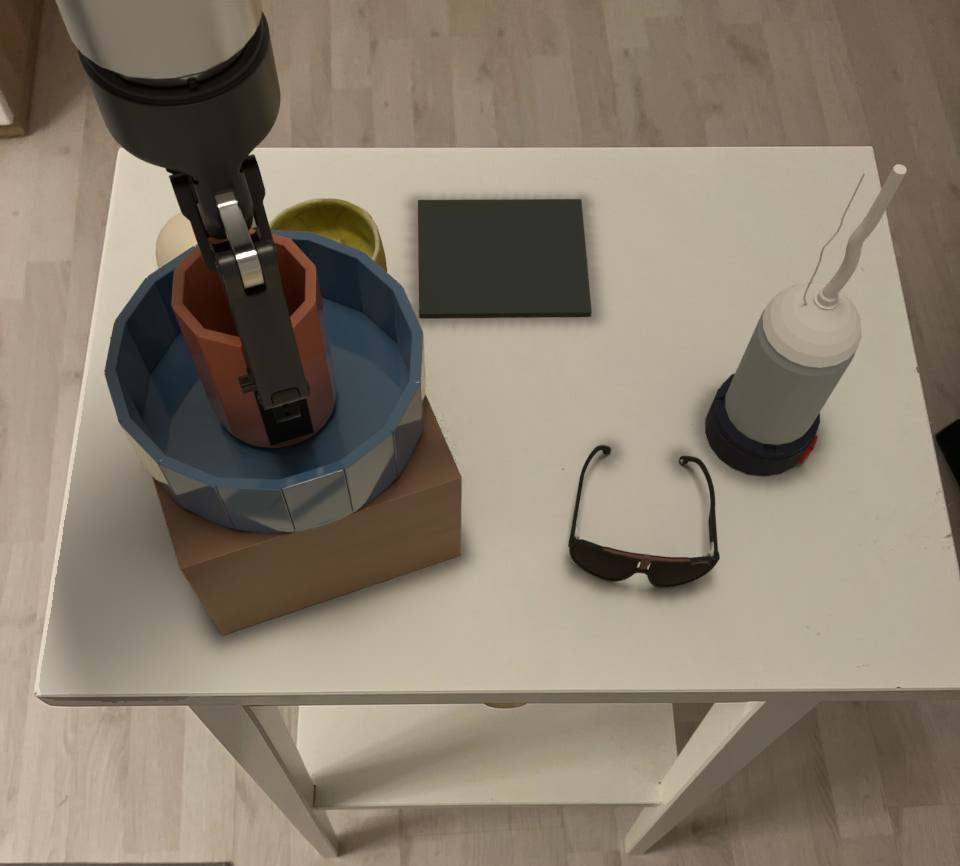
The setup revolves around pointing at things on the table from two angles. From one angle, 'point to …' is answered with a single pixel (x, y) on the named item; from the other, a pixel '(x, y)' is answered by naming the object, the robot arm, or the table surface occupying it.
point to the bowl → (292, 469)
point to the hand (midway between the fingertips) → (270, 379)
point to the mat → (502, 258)
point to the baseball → (174, 239)
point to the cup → (222, 351)
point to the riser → (324, 544)
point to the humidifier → (792, 364)
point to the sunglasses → (624, 564)
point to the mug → (334, 224)
